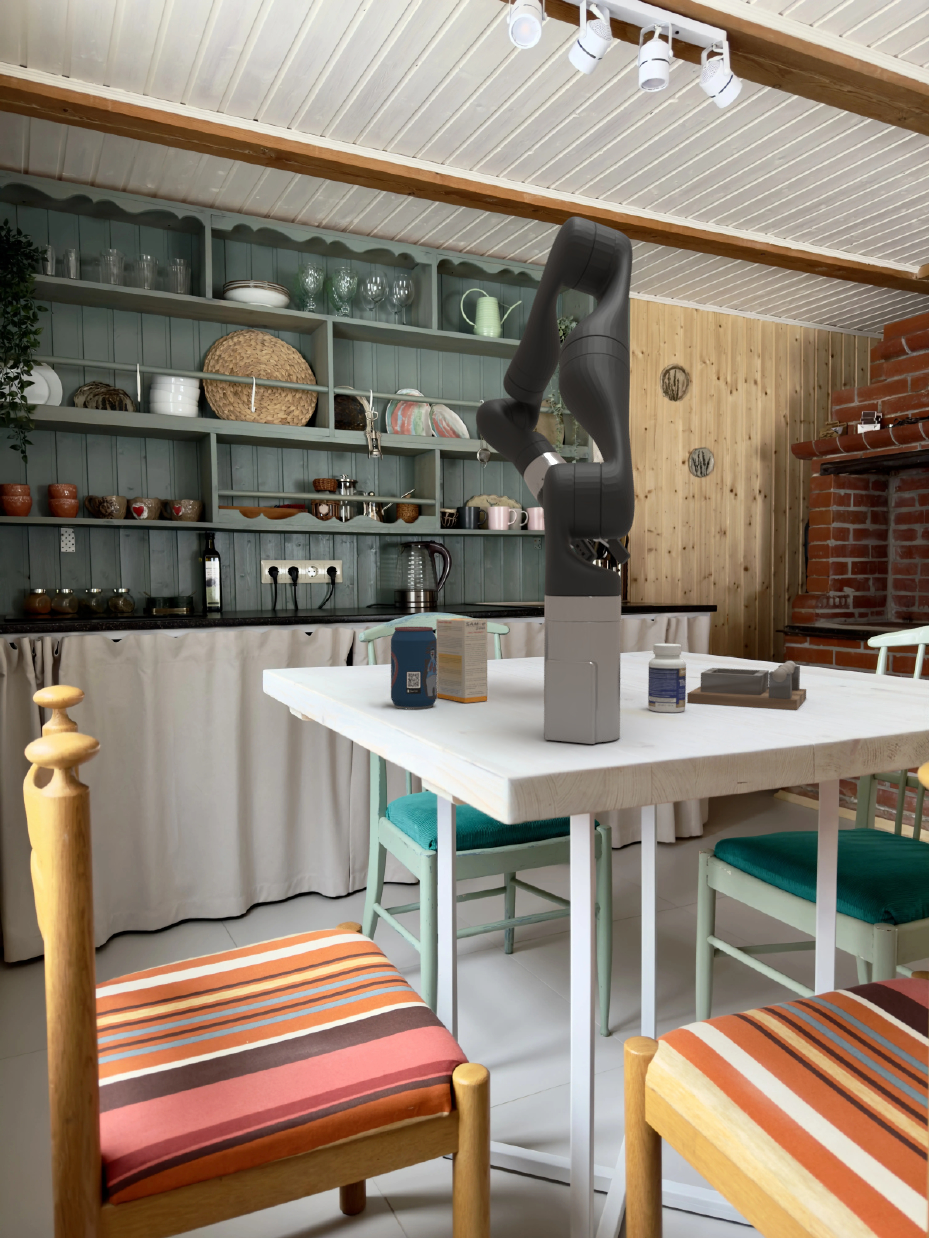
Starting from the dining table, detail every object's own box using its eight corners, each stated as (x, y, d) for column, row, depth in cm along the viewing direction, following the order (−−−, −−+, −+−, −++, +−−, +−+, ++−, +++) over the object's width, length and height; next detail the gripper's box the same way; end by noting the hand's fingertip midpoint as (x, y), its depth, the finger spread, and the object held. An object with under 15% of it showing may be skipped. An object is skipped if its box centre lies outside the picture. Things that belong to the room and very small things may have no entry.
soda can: (392, 703, 131) (391, 626, 131) (436, 702, 132) (436, 626, 131) (389, 710, 124) (389, 628, 124) (436, 709, 125) (436, 628, 124)
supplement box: (489, 701, 134) (489, 618, 133) (464, 703, 131) (464, 619, 130) (459, 695, 140) (459, 616, 140) (435, 697, 138) (435, 617, 137)
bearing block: (796, 710, 125) (797, 669, 124) (687, 702, 132) (687, 664, 132) (806, 698, 137) (806, 661, 137) (705, 692, 144) (706, 657, 144)
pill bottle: (686, 713, 121) (687, 646, 121) (648, 712, 122) (649, 645, 122) (684, 708, 127) (685, 643, 126) (647, 707, 128) (648, 642, 127)
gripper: (540, 467, 131) (596, 544, 124) (596, 472, 140) (651, 544, 134) (513, 501, 135) (566, 578, 128) (570, 504, 145) (621, 575, 138)
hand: (609, 560), depth 131 cm, fingers open, 8 cm apart
